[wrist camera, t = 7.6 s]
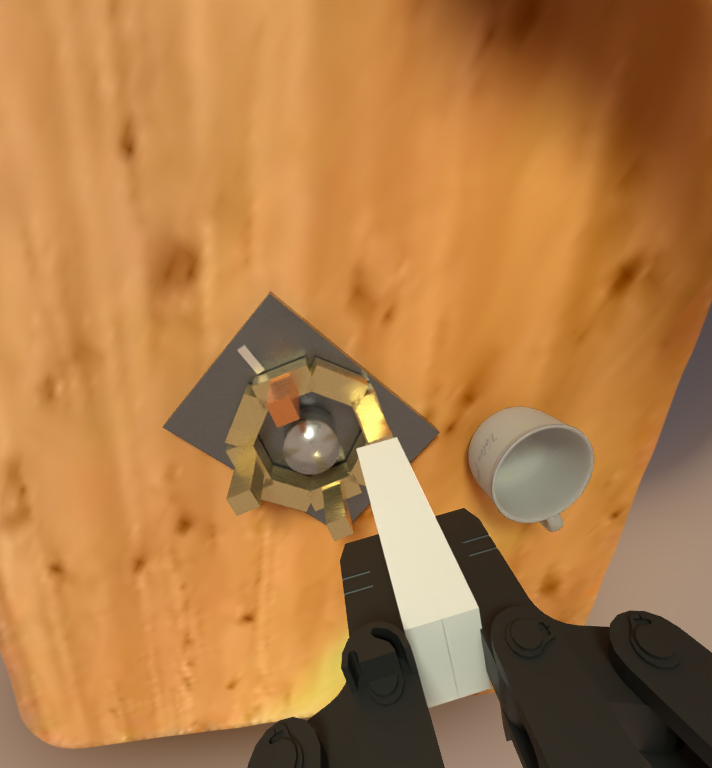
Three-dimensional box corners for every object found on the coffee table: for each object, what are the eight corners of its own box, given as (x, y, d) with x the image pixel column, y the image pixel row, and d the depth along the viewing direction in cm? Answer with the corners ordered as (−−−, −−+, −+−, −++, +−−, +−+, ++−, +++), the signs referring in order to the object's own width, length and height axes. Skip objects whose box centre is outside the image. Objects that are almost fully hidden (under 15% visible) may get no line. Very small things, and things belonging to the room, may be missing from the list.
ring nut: (206, 396, 34) (183, 435, 27) (353, 338, 34) (368, 361, 27) (272, 512, 39) (267, 569, 32) (399, 461, 39) (421, 507, 33)
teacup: (451, 410, 40) (486, 447, 33) (544, 383, 41) (599, 413, 34) (467, 509, 46) (500, 560, 38) (549, 483, 46) (597, 529, 39)
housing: (270, 291, 33) (266, 299, 28) (434, 425, 41) (454, 451, 36) (167, 420, 36) (146, 449, 31) (339, 524, 43) (345, 561, 38)
